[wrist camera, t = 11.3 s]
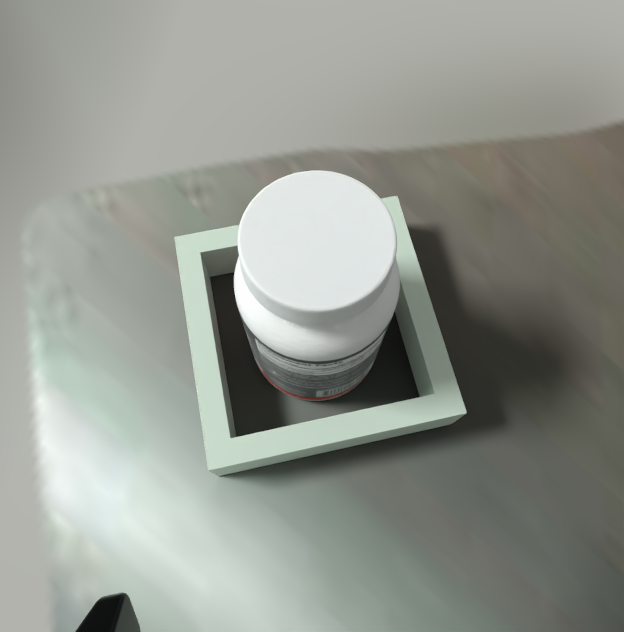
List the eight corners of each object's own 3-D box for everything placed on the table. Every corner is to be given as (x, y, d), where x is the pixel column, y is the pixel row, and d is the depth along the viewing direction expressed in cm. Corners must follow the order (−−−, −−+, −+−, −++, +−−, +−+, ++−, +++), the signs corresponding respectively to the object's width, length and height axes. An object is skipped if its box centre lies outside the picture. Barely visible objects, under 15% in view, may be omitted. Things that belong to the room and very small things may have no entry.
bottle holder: (451, 424, 24) (467, 413, 21) (218, 476, 23) (208, 470, 20) (389, 224, 27) (397, 195, 25) (186, 262, 26) (174, 237, 24)
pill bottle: (274, 272, 26) (255, 134, 17) (389, 302, 26) (434, 176, 16) (235, 384, 24) (191, 297, 15) (359, 419, 24) (393, 351, 14)
